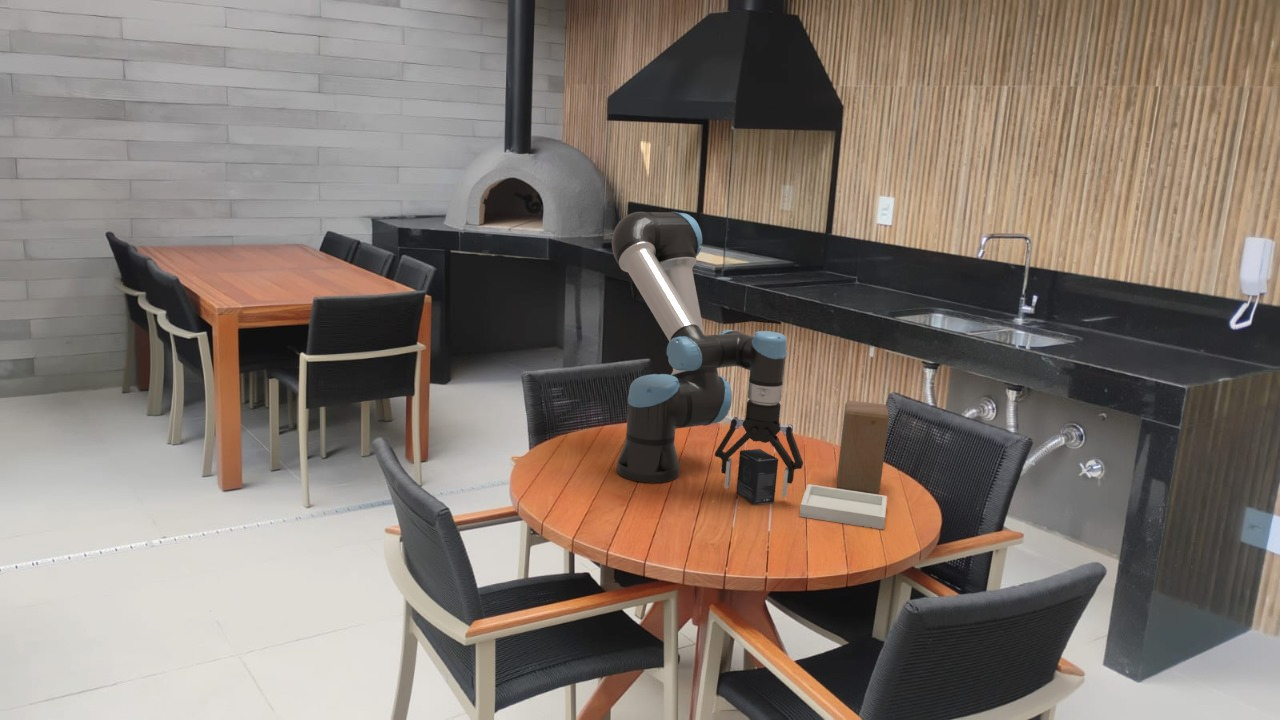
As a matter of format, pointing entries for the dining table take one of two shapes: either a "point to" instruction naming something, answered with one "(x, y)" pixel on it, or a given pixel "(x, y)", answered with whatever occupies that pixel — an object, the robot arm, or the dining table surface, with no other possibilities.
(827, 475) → the dining table surface
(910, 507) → the dining table surface
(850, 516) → the tray
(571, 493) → the dining table surface
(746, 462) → the box
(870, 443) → the wooden block
